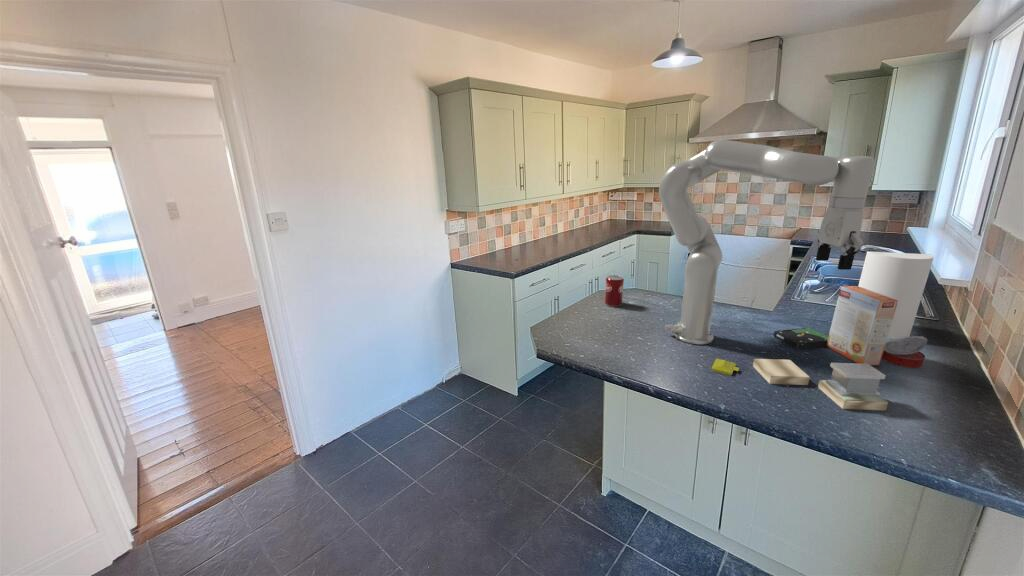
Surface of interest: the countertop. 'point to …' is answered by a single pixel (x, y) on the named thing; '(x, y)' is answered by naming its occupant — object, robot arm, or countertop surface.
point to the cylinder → (898, 284)
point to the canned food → (905, 351)
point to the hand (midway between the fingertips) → (832, 264)
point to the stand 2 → (853, 399)
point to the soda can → (614, 291)
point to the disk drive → (802, 338)
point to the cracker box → (861, 324)
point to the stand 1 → (781, 372)
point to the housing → (855, 379)
